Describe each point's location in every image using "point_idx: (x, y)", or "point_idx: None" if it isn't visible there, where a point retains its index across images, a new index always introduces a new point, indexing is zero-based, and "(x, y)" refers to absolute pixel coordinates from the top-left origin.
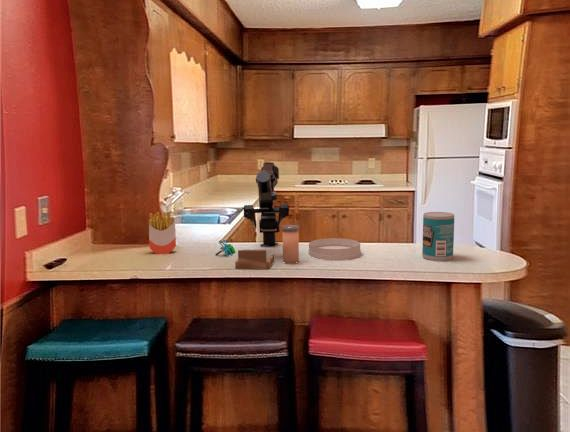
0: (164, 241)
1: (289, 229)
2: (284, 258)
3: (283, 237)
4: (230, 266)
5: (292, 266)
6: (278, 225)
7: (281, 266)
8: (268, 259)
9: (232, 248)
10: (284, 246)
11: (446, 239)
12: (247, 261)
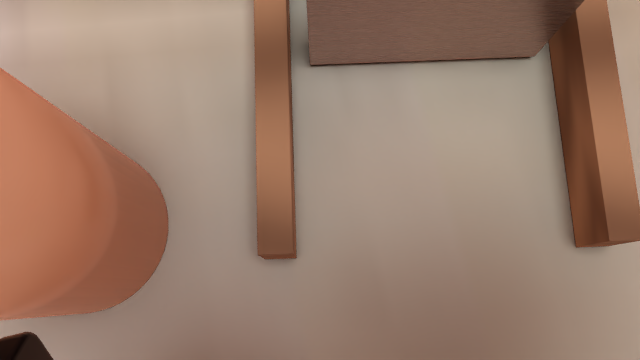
0: None
1: None
2: (130, 160)
3: (4, 78)
4: (635, 6)
5: (60, 57)
6: (4, 347)
7: (163, 48)
8: (282, 29)
9: None
10: (65, 114)
11: None
12: None
